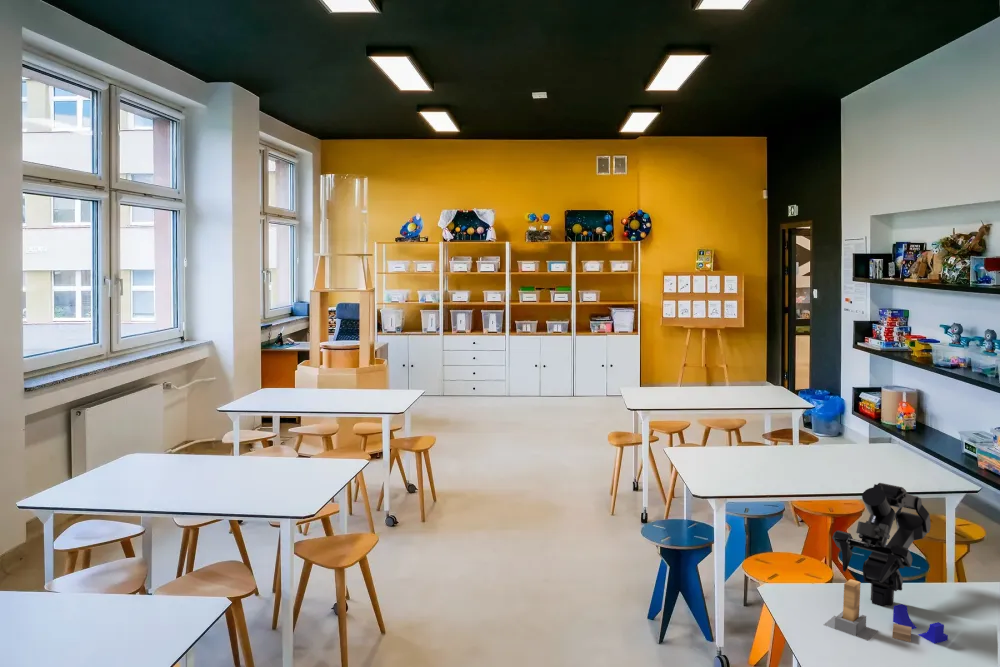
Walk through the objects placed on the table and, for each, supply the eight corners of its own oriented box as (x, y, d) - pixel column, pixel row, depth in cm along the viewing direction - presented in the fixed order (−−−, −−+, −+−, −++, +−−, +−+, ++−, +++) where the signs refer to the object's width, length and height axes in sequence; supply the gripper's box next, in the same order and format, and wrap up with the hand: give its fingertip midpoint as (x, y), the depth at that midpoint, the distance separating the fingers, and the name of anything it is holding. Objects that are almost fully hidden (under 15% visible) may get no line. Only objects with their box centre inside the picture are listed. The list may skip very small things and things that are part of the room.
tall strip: (848, 623, 190) (850, 579, 189) (858, 626, 188) (860, 582, 187) (842, 628, 187) (844, 583, 186) (852, 632, 185) (854, 586, 184)
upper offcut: (893, 630, 186) (893, 623, 186) (911, 634, 184) (911, 627, 184) (892, 638, 182) (892, 631, 182) (910, 642, 180) (910, 635, 180)
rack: (834, 621, 194) (834, 604, 193) (877, 636, 186) (878, 619, 186) (823, 630, 189) (823, 613, 189) (867, 646, 181) (868, 628, 181)
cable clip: (947, 646, 181) (948, 623, 181) (934, 650, 180) (935, 627, 179) (905, 624, 192) (906, 602, 192) (892, 627, 191) (893, 605, 190)
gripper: (836, 501, 199) (817, 551, 193) (910, 518, 186) (893, 572, 179) (846, 522, 206) (829, 571, 199) (919, 540, 192) (903, 593, 185)
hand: (861, 576), depth 191 cm, fingers open, 9 cm apart
